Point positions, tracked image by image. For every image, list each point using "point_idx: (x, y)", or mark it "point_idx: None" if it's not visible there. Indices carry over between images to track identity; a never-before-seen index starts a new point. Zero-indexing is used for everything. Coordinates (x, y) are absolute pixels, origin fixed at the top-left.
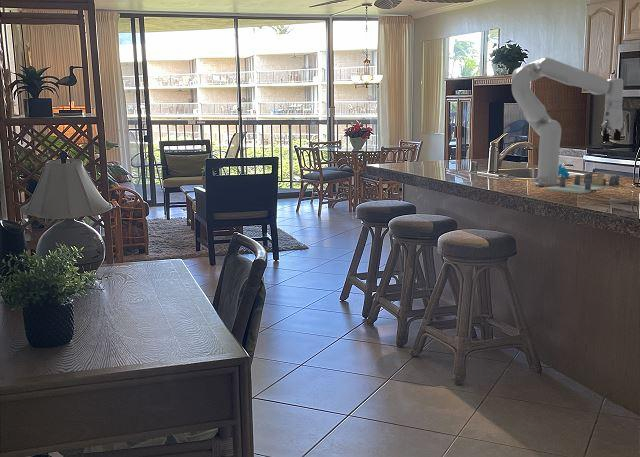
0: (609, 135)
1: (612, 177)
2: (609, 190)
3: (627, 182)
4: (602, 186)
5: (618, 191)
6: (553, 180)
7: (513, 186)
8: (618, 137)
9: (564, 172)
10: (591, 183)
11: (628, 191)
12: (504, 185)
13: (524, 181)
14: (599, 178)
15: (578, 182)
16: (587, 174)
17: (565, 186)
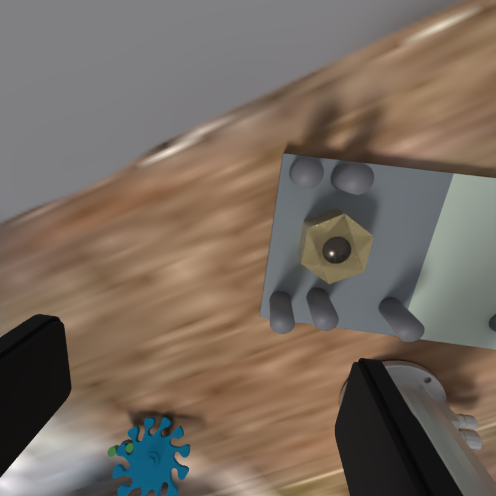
0: (424, 464)
1: (371, 171)
2: (448, 141)
3: (113, 199)
4: (402, 196)
5: (468, 87)
6: (424, 391)
7: (492, 460)
8: (24, 368)
9: (149, 446)
10: (318, 277)
11: (444, 44)
12: None
13: (333, 479)
14: (354, 242)
15: (402, 304)
16: (336, 312)
17: (481, 317)
